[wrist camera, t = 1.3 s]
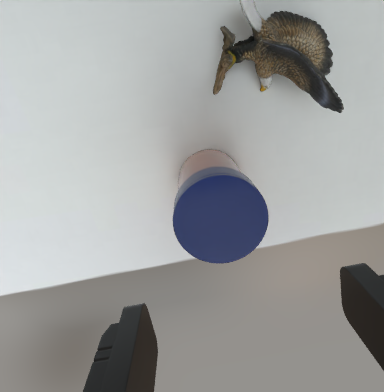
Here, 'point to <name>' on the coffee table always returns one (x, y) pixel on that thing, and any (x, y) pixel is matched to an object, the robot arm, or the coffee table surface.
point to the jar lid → (219, 215)
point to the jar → (204, 163)
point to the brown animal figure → (283, 53)
